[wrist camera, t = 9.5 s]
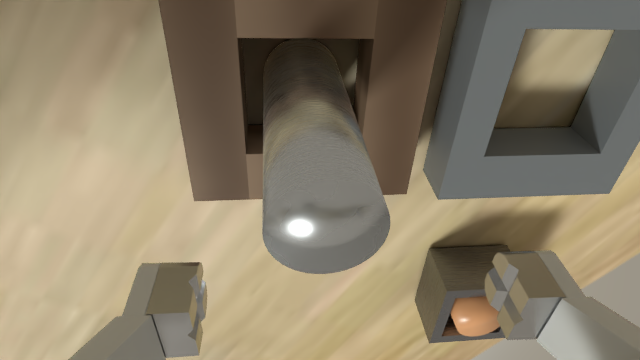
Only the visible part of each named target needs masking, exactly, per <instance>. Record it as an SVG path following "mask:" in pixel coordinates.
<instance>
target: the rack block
mask: <svg viewBox="0 0 640 360" xmlns="http://www.w3.org/2000/svg"><path fill="white" fill-rule="evenodd" d="M526 29H600V30H615V31H614V33H613V35H612V37H611V39H610V42H609V44H608V46H607V48H606V51H605V53H604V55H603V57H602V59H601V62H600V64H599V66H598V68H597V70H596V73H595V75H594V77H593V79H592V81H591V84H590V86H589V88H588V90H587V92H586V95H585V97H584V99H583V101H582V104H581V106H580V108H579V110H578V112H577V115H576V117H575V119H574V121H573V123H572V126H571V127H564V128H505V129H493V128H494V125H495V122H496V119H497V115H498V112H499V109H500V106H501V103H502V100H503V97H504V94H505V91H506V88H507V85H508V82H509V79H510V76H511V73H512V70H513V67H514V64H515V61H516V58H517V55H518V51H519V48H520V45H521V42H522V39H523V36H524V33H525V30H526ZM639 141H640V0H462V3H461V7H460V11H459V16H458V20H457V24H456V29H455V33H454V37H453V42H452V46H451V50H450V55H449V59H448V63H447V68H446V72H445V77H444V81H443V85H442V90H441V94H440V98H439V103H438V107H437V111H436V116H435V120H434V124H433V129H432V133H431V137H430V142H429V146H428V150H427V155H426V159H425V164H424V168H423V171H424V173H425V175H426V177H427V179H428V181H429V183H430V185H431V187H432V189H433V191H434V193H435V195H436V197H437V199H438V200H439V199H468V198H496V197H525V196H553V195H581V194H609V193H610V191H611V190H612V188H613V186H614V184H615V183H616V181H617V179H618V177H619V176H620V174H621V172H622V170H623V169H624V167H625V165H626V164H627V162H628V160H629V158H630V157H631V155H632V153H633V151H634V150H635V148H636V146H637V145H638V143H639Z"/></svg>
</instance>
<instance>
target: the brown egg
mask: <svg viewBox="0 0 640 360" xmlns="http://www.w3.org/2000/svg"><path fill="white" fill-rule="evenodd" d="M498 313H499V311H497V310H496V309H495V308H493V307H492V306H491V305H490V303H489V301H488V299H487V297H486V296H484V297H468V298H455V301H454V304H453V306H452V309H451V312H450V314H451V316H452V319H453V321H454V324H455V326H456V328H457V331H458V332H459V333H460V334H462V335H464V336H471V337H473V336H481V335H485V334H488V333H490V332H492V331H494V330H496V329H497V328H498V327H500V325H499V323H498V320H497V316H498Z"/></svg>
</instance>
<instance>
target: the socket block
mask: <svg viewBox="0 0 640 360" xmlns="http://www.w3.org/2000/svg"><path fill="white" fill-rule="evenodd" d="M446 3H447V0H159V6H160V12H161V17H162V23H163V29H164V34H165V40H166V45H167V51H168V57H169V62H170V68H171V74H172V79H173V85H174V90H175V96H176V102H177V107H178V113H179V119H180V124H181V130H182V135H183V141H184V147H185V152H186V158H187V164H188V169H189V175H190V180H191V186H192V192H193V197H194V201H215V200H244V199H263V125H248V120H247V106H246V91H245V77H244V63H243V48H242V38H335V39H360V42H359V52H358V63H357V73H356V83H355V93H354V104H353V111H354V114H355V117H356V120H357V122H358V125H359V128H360V131H361V134H362V137H363V140H364V142H365V145H366V148H367V151H368V154H369V157H370V160H371V162H372V165H373V168H374V171H375V174H376V177H377V180H378V182H379V185H380V188H381V191H382V194H383V195H394V194H407V189H408V184H409V180H410V175H411V170H412V165H413V161H414V156H415V151H416V146H417V142H418V137H419V132H420V127H421V123H422V118H423V113H424V108H425V103H426V99H427V94H428V89H429V84H430V80H431V75H432V70H433V65H434V61H435V56H436V51H437V46H438V42H439V37H440V32H441V27H442V22H443V18H444V13H445V8H446Z"/></svg>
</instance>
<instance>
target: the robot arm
mask: <svg viewBox="0 0 640 360" xmlns="http://www.w3.org/2000/svg"><path fill="white" fill-rule="evenodd" d="M492 262H493V264H494V266H495V267H494V268H493V269H491V270H490V271H489V272H488V273H487V276H486V278H485V293H486V297H487V299H488V301H489V303H490V305H491V306H492V307H493V308H495V309H496V310H497V311H499V313H498V316H497V320H498V323H499V325H500V327H501V329H502V331H503V333H504V335H505V337H506V339H507V340H515V339H517V340H518V339H537V340H536V341H537V342H538V343H539V344H540V345H542V346H543V347H544V348H545V349H546V350H547V351H548V352H549V353H550V354H551V355H552V356H553V357H555V358H556V359H557V360H640V328H639V327H638V326H636V325H635V324H633V323H631V322H630V321H628V320H627V319H625V318H624V317H622V316H620V315H619V314H617V313H616V312H614V311H613V310H611V309H609V308H608V307H606V306H605V305H603V304H602V303H600V302H599V301H597V300H595V299H594V298H592V297H586V296H585V295H584V294H583V292H582V291H581V289H580V288H579V286H578V285H577V283H576V282H575V281H574V279H573V278H572V276H571V275H570V274H569V272H568V271H567V269H566V268H565V267H564V265H563V264H562V262H561V261H560V259H559V258H558V257H557V255H556V254H555V253H554V252H552V251H551V250H550V251H519V252H498V253H497V254H496V255H495V256H494V258H493V261H492ZM202 277H203V267H202V263H200V262H189V263H142V264H141V266H140V267H139V268H138V271H137V274H136V277H135V280H134V283H133V285H132V288H131V291H130V294H129V297H128V300H127V303H126V306H125V309H124V312H123V315H122V316H119V317H115V318H114V319H113V320H112V321H111V322H109V323H108V324H107V325H106V326H105V327H104V328H103V329H102V330H101V331H99V332H98V333H97V334H96V335H95V336H94V337H93V338H92V339H91V340H89V341H88V342H87V343H86V344H85V345H84V346H83V347H82V348H81V349H79V350H78V351H77V352H76V353H75V354H74V355H73V356H72V357H71V358H69V359H68V360H166V359H165V358H170V357H183V356H196V355H199V353H200V347H201V341H202V335H203V330H202V325H201V321H202V320H203V319H204V318H205V315H206V308H207V288H206V282H204V281H203V280H202Z"/></svg>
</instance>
